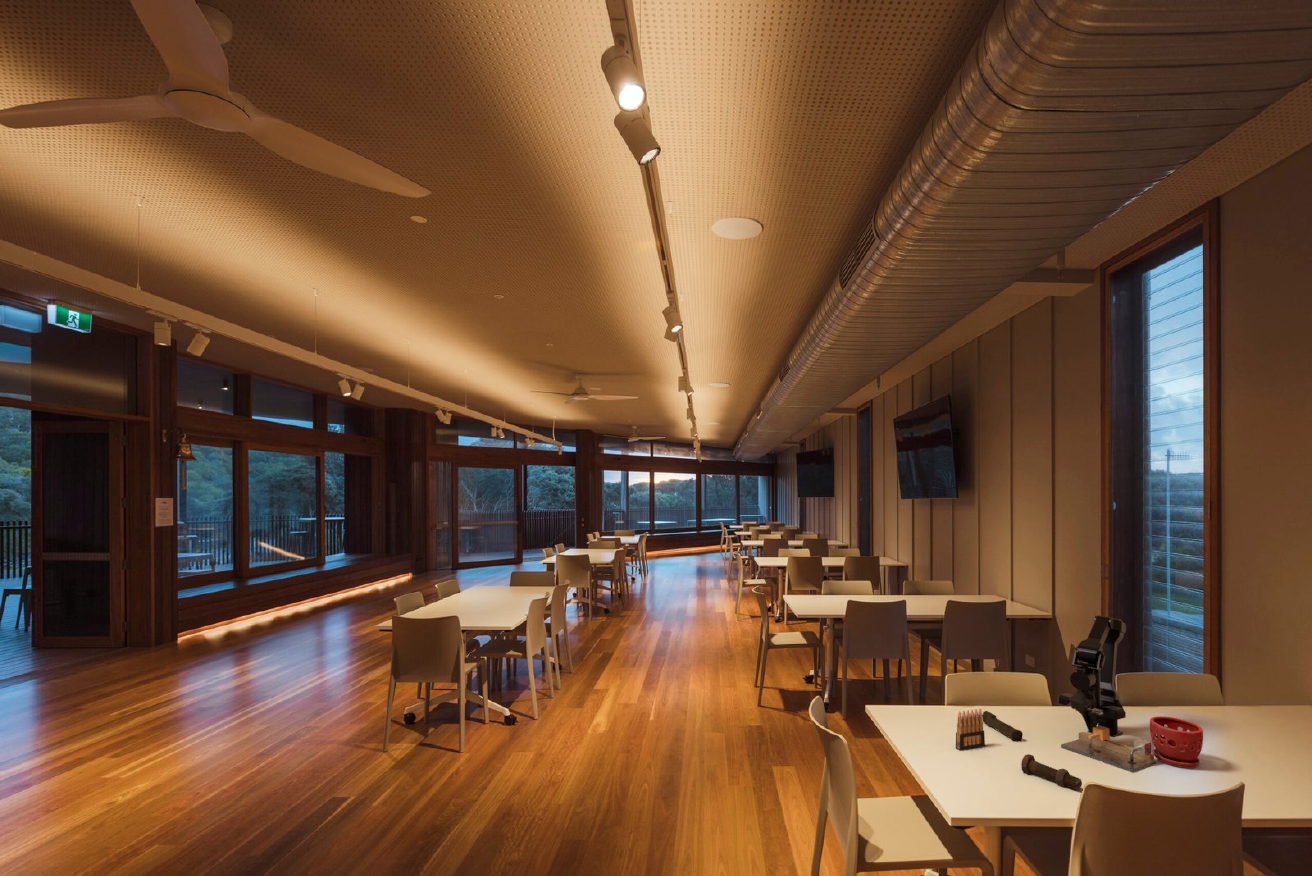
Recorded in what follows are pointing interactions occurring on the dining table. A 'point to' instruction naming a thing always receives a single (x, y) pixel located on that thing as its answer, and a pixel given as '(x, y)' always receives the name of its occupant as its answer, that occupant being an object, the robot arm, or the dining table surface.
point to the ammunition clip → (970, 730)
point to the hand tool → (1001, 726)
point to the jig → (1114, 752)
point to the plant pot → (1176, 741)
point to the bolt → (1050, 773)
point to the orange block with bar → (1099, 734)
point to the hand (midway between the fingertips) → (1091, 732)
